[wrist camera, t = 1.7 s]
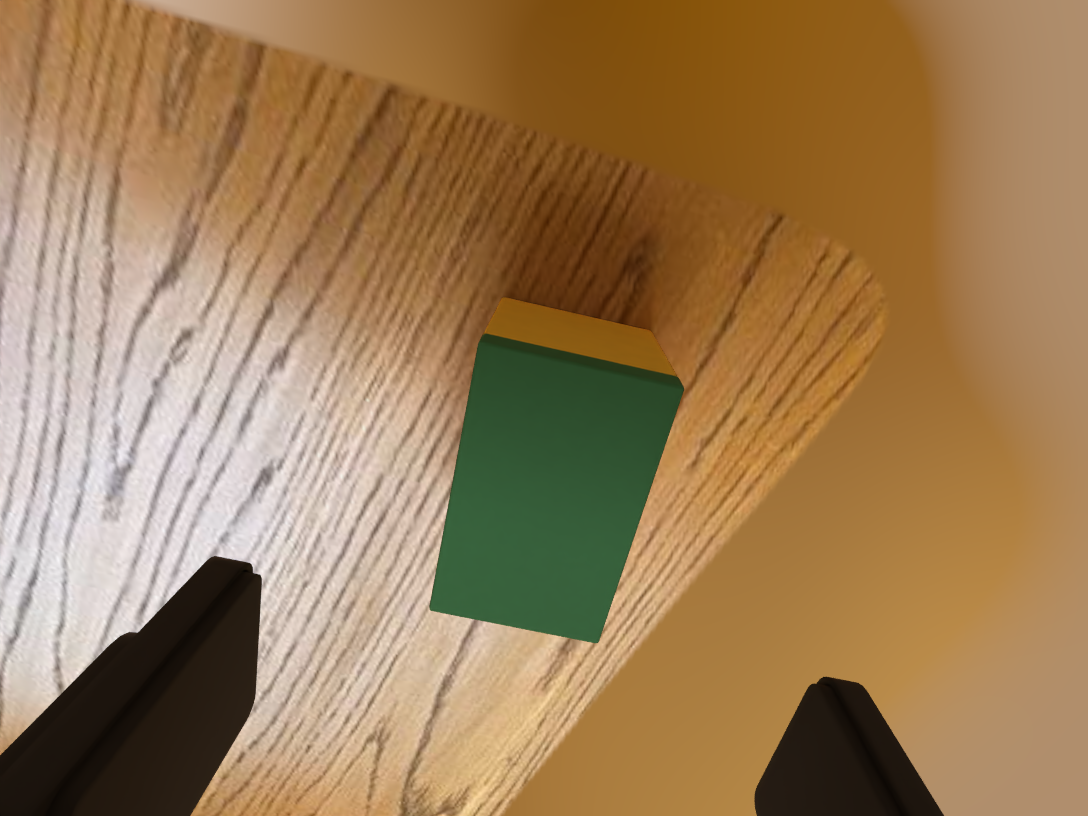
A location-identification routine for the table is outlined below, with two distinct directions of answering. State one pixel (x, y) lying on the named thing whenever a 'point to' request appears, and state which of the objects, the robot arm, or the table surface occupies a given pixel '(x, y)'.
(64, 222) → the table surface
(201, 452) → the table surface
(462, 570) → the sponge
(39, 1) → the table surface
